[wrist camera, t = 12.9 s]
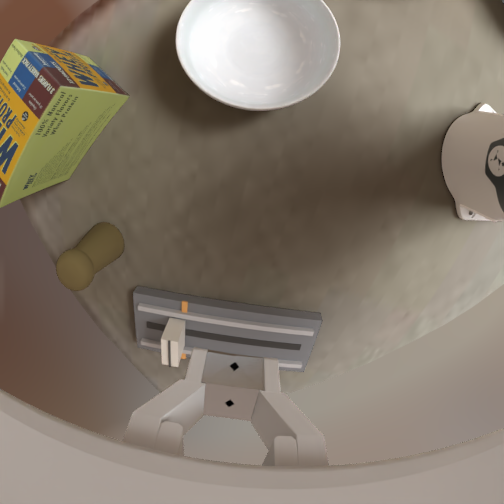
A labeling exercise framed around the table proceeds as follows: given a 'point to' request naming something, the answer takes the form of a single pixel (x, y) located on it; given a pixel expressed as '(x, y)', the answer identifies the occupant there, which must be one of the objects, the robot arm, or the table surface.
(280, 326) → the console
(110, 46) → the table surface
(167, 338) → the fader tab
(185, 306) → the pair of orange ticks
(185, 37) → the cereal bowl
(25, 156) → the protein box
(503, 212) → the robot arm
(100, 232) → the cork
